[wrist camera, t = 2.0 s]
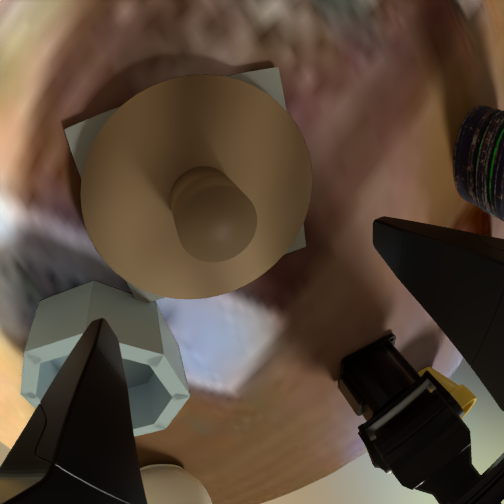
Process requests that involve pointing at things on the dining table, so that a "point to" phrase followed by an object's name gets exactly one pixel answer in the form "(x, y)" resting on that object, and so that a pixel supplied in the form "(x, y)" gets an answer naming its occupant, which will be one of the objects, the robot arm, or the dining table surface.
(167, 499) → the lidded jar
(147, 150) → the lid
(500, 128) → the storage jar
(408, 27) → the dining table surface
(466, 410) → the plant pot
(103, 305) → the bowl
